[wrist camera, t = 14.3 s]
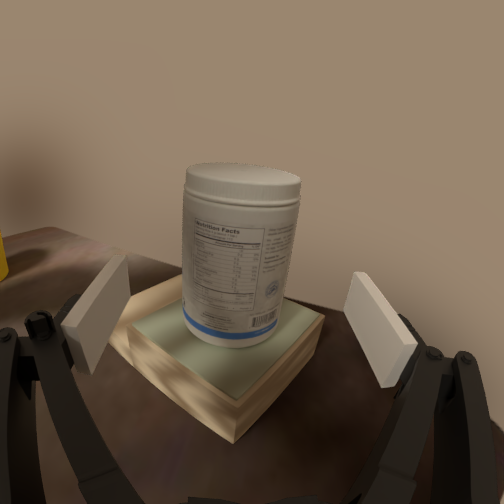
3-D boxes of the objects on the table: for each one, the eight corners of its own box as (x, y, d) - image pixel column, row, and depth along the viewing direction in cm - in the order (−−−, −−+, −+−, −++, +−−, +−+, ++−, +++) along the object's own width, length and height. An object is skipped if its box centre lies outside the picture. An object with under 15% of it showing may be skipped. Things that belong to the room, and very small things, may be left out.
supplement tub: (198, 289, 34) (204, 159, 28) (279, 302, 33) (301, 170, 27) (168, 341, 25) (165, 172, 19) (274, 361, 24) (306, 188, 18)
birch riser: (98, 331, 33) (89, 290, 30) (185, 289, 45) (185, 252, 43) (233, 444, 22) (238, 405, 19) (313, 354, 34) (325, 313, 32)
